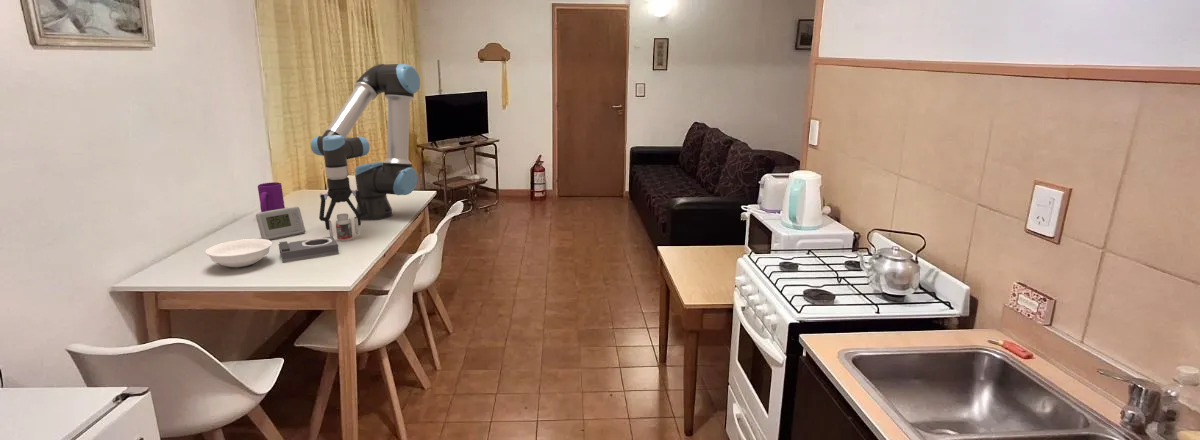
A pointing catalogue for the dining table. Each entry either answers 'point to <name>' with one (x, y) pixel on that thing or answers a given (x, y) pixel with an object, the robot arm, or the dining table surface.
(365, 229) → the dining table surface
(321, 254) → the octagonal hole plate
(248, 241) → the bowl
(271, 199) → the mug
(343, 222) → the pill bottle
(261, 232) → the digital clock
